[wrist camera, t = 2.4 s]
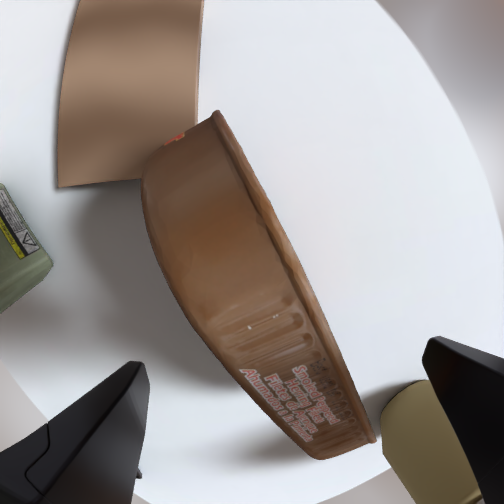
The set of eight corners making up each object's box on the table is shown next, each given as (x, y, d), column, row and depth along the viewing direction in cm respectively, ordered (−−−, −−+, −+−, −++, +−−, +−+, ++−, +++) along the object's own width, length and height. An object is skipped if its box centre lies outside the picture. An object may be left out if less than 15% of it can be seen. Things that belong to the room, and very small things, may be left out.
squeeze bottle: (370, 442, 21) (432, 582, 4) (364, 398, 18) (457, 586, 1) (439, 405, 20) (519, 523, 3) (446, 352, 18) (566, 492, 1)
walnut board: (197, 174, 13) (194, 175, 12) (70, 185, 12) (58, 187, 11) (211, -60, 8) (211, -71, 7) (105, -42, 8) (99, -50, 7)
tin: (340, 355, 17) (397, 458, 9) (296, 377, 17) (335, 488, 9) (226, 121, 12) (240, 61, 4) (163, 155, 12) (72, 163, 4)
